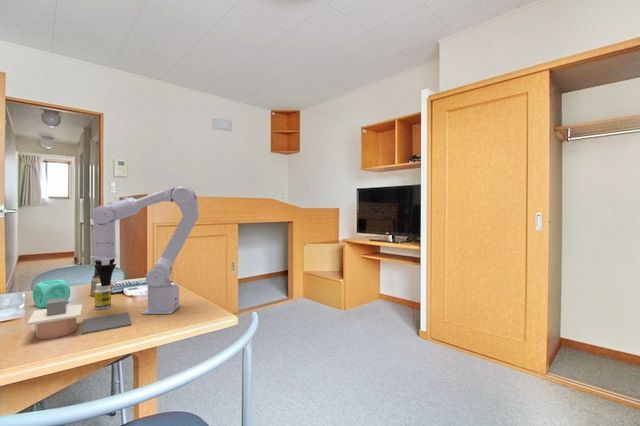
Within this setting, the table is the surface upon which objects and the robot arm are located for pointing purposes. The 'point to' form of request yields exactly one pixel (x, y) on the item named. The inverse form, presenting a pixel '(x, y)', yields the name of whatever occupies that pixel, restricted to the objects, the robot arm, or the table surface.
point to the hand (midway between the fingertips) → (105, 283)
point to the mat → (105, 323)
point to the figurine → (96, 281)
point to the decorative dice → (50, 292)
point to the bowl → (55, 328)
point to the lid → (55, 312)
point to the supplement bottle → (102, 296)
